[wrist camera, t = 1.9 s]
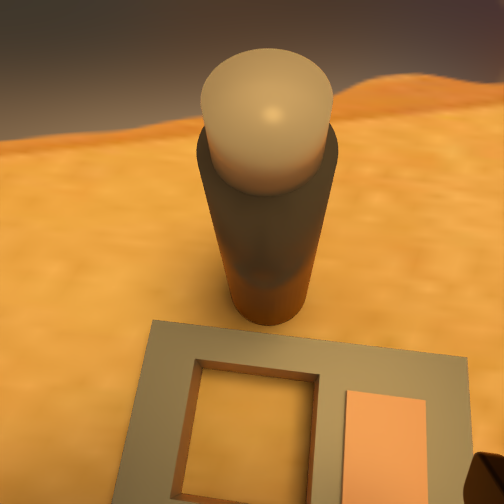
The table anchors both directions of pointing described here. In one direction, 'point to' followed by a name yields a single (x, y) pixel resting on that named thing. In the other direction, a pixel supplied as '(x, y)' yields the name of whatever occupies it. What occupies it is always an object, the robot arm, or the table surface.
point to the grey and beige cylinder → (267, 175)
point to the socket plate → (323, 416)
